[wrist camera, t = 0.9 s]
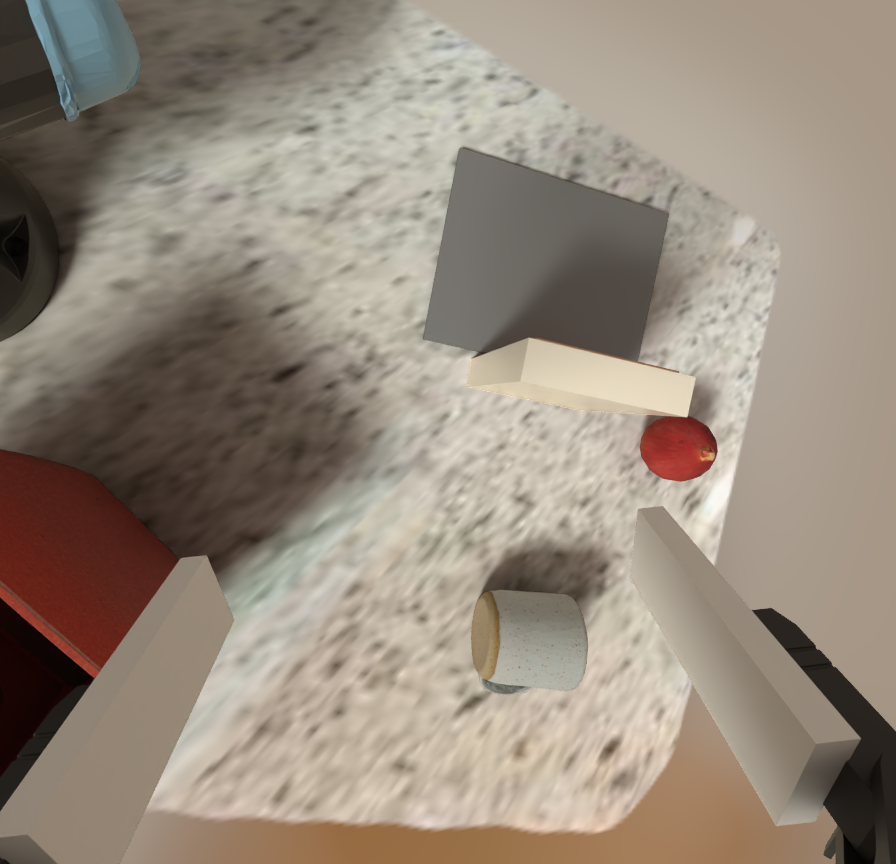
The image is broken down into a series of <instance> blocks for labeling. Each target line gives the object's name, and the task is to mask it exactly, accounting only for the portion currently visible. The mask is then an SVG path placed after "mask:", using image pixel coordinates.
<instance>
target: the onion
mask: <svg viewBox="0 0 896 864" xmlns="http://www.w3.org/2000/svg"><path fill="white" fill-rule="evenodd" d="M640 451H641V457H642V459H643V460H644V462H645V463H646V465H647V466H648V468H649V470H651V471H652V472H654V473H655V474H656V475H658V476H660V477H661V478H663V479H668V480H674V481H686V480H690V479H694V478H697V477H699V476H701V475H702V474H703V473H705V472H706V471H707V470H709V469H710V467H711V465H712V464H713V462H714V461H715V459H716V455H717V452H718V451H717V443H716V439H715V437H714V436H713V434H712V432H711V431H710V429H709V428H708V427H707V426H706V425H704V424H703V423H701V422H699V421H698V420H696V419H694V418H693V417H689V416H687V417H674V416H668V417H665V418H661V419H658V420H656V421H655V422H654V423H653V424H652V425H650V426H649V427H648V428H647V429H646V431H645V432H644V434H643V436H642V438H641V443H640Z"/></svg>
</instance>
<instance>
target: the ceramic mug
mask: <svg viewBox="0 0 896 864" xmlns="http://www.w3.org/2000/svg"><path fill="white" fill-rule="evenodd" d="M471 640H472V656H473V662H474V666H475V669H476V671H477V672H478V675H479V680H480V684H481V686H482V687H483V688H484V689H486V690H487V691H489V692H491V693H494V694H499V695H517V694H521V693H525V692H527V691H529V690H531V689H533V688H542V689H549V690H558V691H572V690H574V689H576V688H577V687H578V685H579V684H580V683H581V681H582V679H583V676H584V673H585V669H586V664H587V652H588V638H587V631H586V626H585V622H584V618H583V615H582V613H581V610H580V608H579V607H578V605H577V603H576V602H575V600H574V599H573V598H571V597H570V596H568V595H565V594H554V593H542V592H524V591H512V590H495V591H487V592H485V593H483V594H482V595H481V596H480V598H479V599H478V601H477V603H476V607H475V610H474V615H473V621H472V636H471Z"/></svg>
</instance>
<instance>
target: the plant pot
mask: <svg viewBox="0 0 896 864" xmlns="http://www.w3.org/2000/svg"><path fill="white" fill-rule="evenodd" d="M178 561H179V559H178V558H177V557H176V556H175V555H174V554H173V553H172V552H171V551H170V550H169V549H168V548H167V547H166V546H165V545H164V544H163V543H162V542H161V541H160V540H159V539H158V538H157V537H156V536H155V535H154V534H153V533H152V532H151V531H150V530H149V529H148V528H147V527H146V526H145V525H144V524H143V523H142V522H141V521H140V520H139V519H138V518H137V517H136V516H135V515H134V514H133V513H131V512H130V511H129V510H128V509H127V508H126V507H125V506H124V505H123V504H122V503H121V502H120V501H119V500H118V499H117V498H116V497H115V496H114V495H113V494H112V493H111V492H110V491H109V490H108V489H107V488H106V487H105V486H104V485H103V484H102V483H101V482H100V481H99V480H98V479H97V478H96V477H94V476H93V475H91V474H88V473H86V472H83V471H81V470H78V469H76V468H73V467H69V466H66V465H63V464H59V463H56V462H53V461H49V460H45V459H41V458H38V457H34V456H30V455H25V454H21V453H16V452H11V451H6V450H1V449H0V777H1V776H2V775H3V773H4V772H5V771H6V769H7V768H8V767H9V765H10V764H11V763H12V762H13V761H15V760H16V759H17V755H18V754H19V752H20V751H21V750H22V748H23V747H24V746H25V744H26V743H27V742H28V740H29V739H32V738H33V734H34V732H35V731H36V730H37V728H38V727H39V726H40V725H41V723H42V722H43V721H44V719H45V718H46V717H47V715H48V714H49V713H50V711H51V710H52V709H53V708H54V707H55V706H56V705H57V704H58V703H59V702H60V701H62V700H63V699H64V698H65V697H66V696H67V695H68V694H69V693H70V692H72V691H73V690H74V689H75V688H76V687H77V686H82V685H91V684H92V682H93V681H94V679H95V678H96V676H97V675H98V674H99V672H100V671H101V669H102V668H103V667H104V665H105V664H106V662H107V661H108V660H109V658H110V657H111V655H112V654H113V653H114V651H115V650H116V648H117V647H118V646H119V644H120V643H121V641H122V640H123V639H124V637H125V636H126V634H127V633H128V632H129V630H130V629H131V627H132V626H133V625H134V623H135V622H136V620H137V619H138V618H139V616H140V615H141V613H142V612H143V611H144V609H145V608H146V606H147V605H148V604H149V602H150V601H151V599H152V598H153V597H154V595H155V594H156V592H157V591H158V590H159V588H160V587H161V585H162V584H163V583H164V581H165V580H166V578H167V577H168V576H169V574H170V573H171V571H172V570H173V569H174V567H175V566H176V564H177V563H178Z"/></svg>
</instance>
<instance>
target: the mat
mask: <svg viewBox="0 0 896 864" xmlns="http://www.w3.org/2000/svg"><path fill="white" fill-rule="evenodd" d="M668 217H669V214H668V213H665V212H662V211H659V210H655V209H652V208H649V207H646V206H643V205H640V204H637V203H633V202H630V201H627V200H624V199H621V198H618V197H615V196H611V195H608V194H605V193H602V192H599V191H596V190H593V189H589V188H586V187H583V186H580V185H577V184H574V183H571V182H567V181H564V180H561V179H558V178H555V177H552V176H549V175H545V174H542V173H539V172H536V171H533V170H530V169H526V168H523V167H520V166H517V165H514V164H511V163H508V162H504V161H501V160H498V159H495V158H492V157H489V156H486V155H482V154H479V153H476V152H473V151H470V150H467V149H464V148H460V149H459V152H458V157H457V163H456V168H455V173H454V178H453V184H452V189H451V194H450V199H449V205H448V210H447V215H446V220H445V226H444V231H443V236H442V241H441V247H440V252H439V257H438V262H437V268H436V273H435V278H434V284H433V289H432V294H431V299H430V305H429V310H428V315H427V320H426V326H425V331H424V336H423V339H424V340H429V341H433V342H438V343H442V344H447V345H451V346H455V347H460V348H464V349H469V350H473V351H478V352H482V353H489V352H491V351H494V350H497V349H500V348H502V347H505V346H508V345H510V344H513V343H516V342H518V341H521V340H524V339H527V338H533V339H534V338H541V339H545V340H549V341H553V342H557V343H561V344H566V345H570V346H574V347H578V348H582V349H587V350H591V351H595V352H599V353H603V354H608V355H612V356H616V357H620V358H624V359H629V360H633V361H637V362H638V357H639V353H640V348H641V343H642V339H643V334H644V329H645V325H646V320H647V315H648V310H649V306H650V301H651V296H652V292H653V287H654V282H655V278H656V273H657V268H658V263H659V259H660V254H661V249H662V245H663V240H664V235H665V231H666V226H667V221H668Z"/></svg>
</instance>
